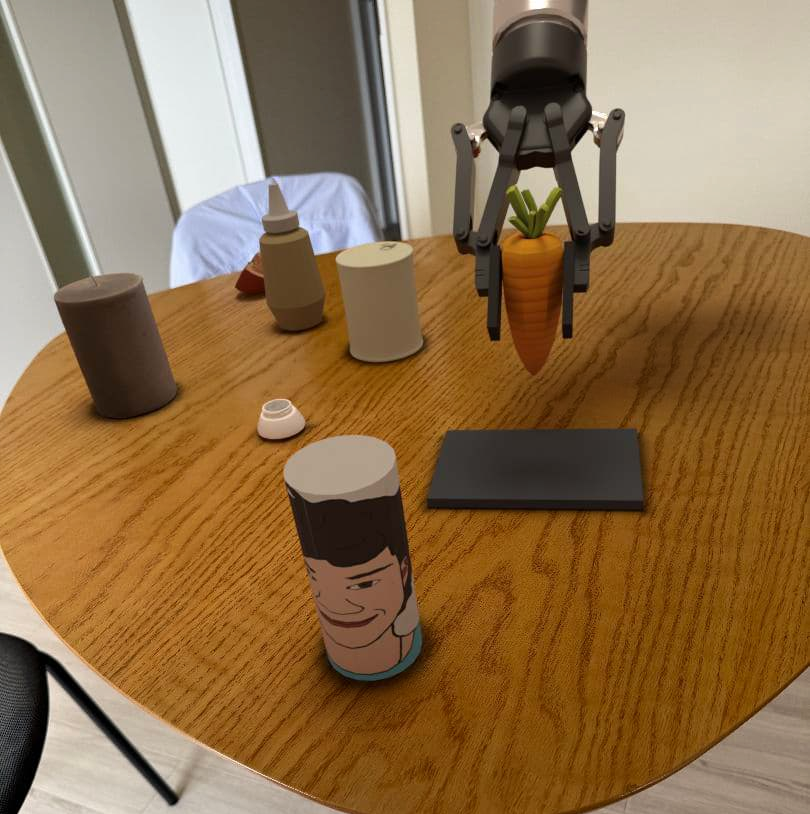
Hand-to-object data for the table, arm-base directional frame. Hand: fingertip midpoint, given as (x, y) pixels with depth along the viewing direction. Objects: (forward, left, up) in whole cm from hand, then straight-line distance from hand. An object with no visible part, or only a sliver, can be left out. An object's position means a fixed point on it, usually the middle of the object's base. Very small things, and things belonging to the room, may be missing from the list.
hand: (530, 332), depth 59 cm
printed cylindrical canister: (+10, +19, -15) cm, 26 cm away
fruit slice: (+45, -56, -15) cm, 73 cm away
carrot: (0, -4, -5) cm, 7 cm away
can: (+20, -33, -15) cm, 41 cm away
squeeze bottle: (+34, -42, -15) cm, 56 cm away
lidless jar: (+27, -12, -15) cm, 33 cm away
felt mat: (0, -4, -15) cm, 15 cm away
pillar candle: (+48, -20, -15) cm, 54 cm away
